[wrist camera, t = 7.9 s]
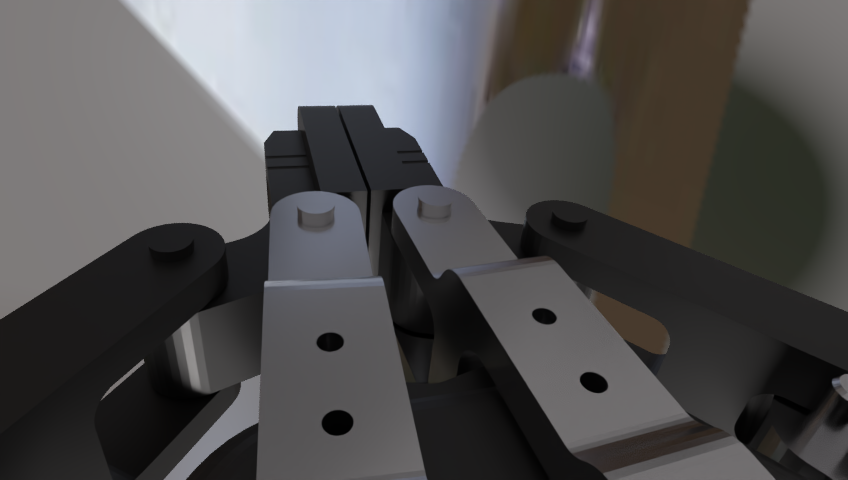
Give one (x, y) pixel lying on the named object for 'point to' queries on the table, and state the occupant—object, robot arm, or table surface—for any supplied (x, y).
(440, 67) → the table surface
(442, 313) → the robot arm
